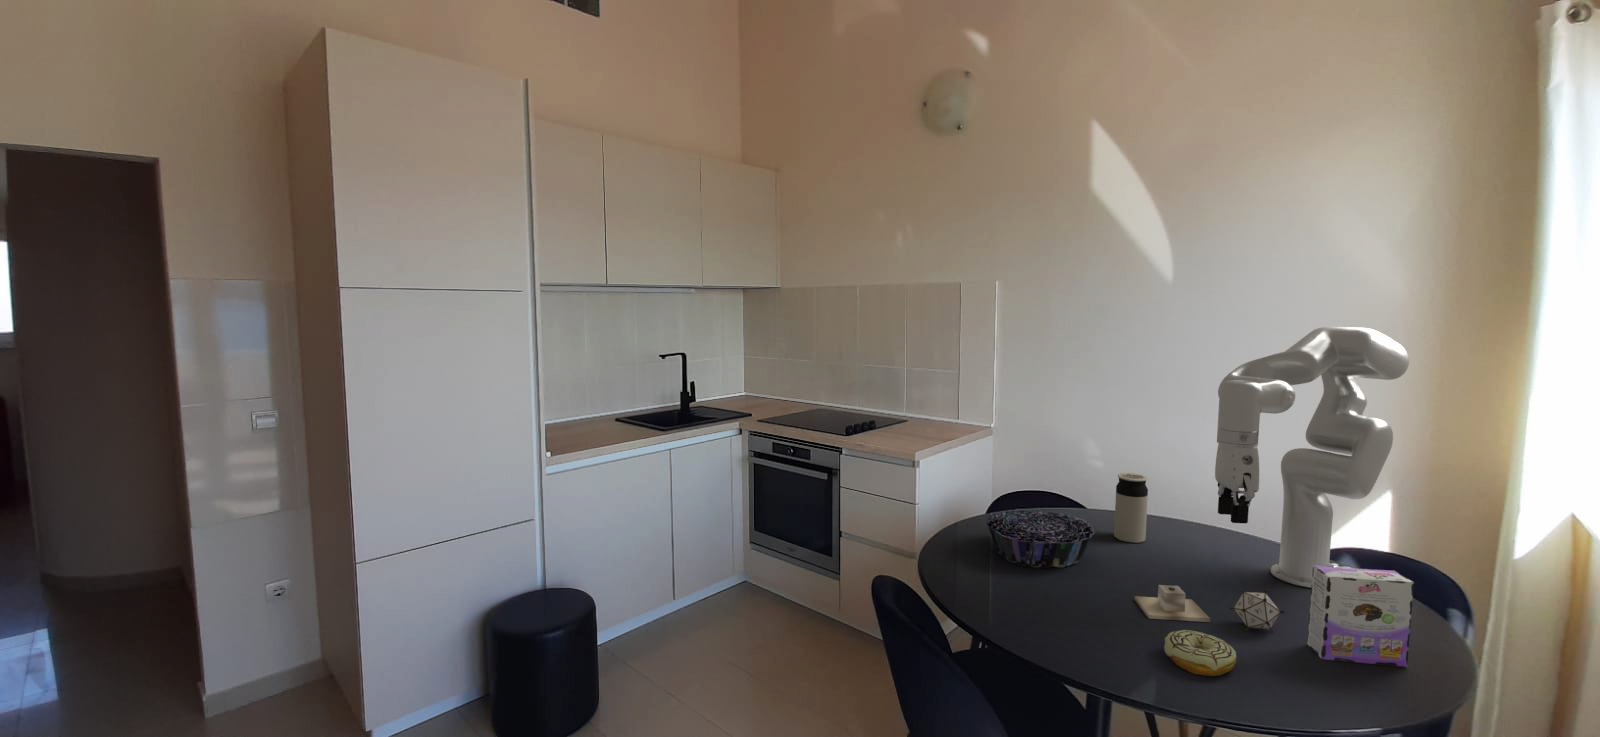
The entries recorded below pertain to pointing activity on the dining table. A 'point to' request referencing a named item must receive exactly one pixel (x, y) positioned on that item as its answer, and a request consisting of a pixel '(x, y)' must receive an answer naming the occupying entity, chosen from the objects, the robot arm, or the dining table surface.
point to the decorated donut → (1200, 652)
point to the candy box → (1360, 615)
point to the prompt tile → (1171, 615)
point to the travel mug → (1131, 508)
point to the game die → (1256, 610)
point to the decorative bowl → (1039, 537)
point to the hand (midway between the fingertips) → (1232, 517)
